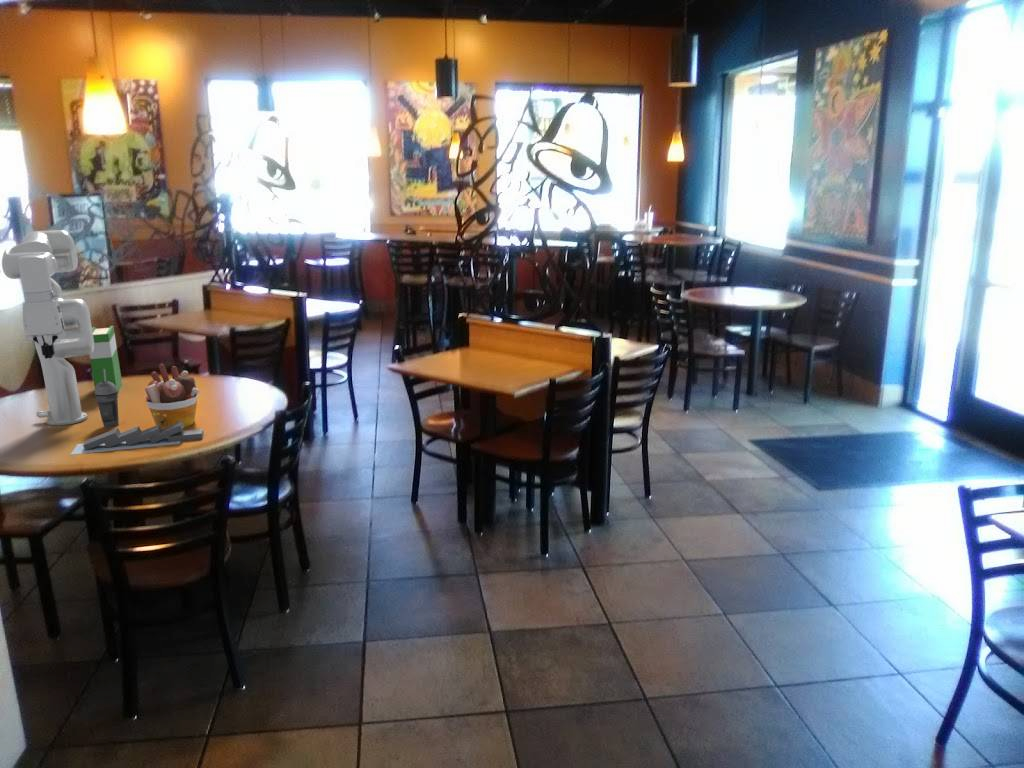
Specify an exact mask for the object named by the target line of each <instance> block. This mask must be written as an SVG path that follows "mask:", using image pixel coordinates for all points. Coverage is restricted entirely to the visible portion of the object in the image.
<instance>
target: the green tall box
mask: <svg viewBox="0 0 1024 768" xmlns="http://www.w3.org/2000/svg"><path fill="white" fill-rule="evenodd" d="M114 327H115V326H114V325H110V326H109V327H103V328H102V327H101V328H96V326H93V327H92V332H93V339H94V351H93V352H92V353H91V354H89V360H90V361H89V362H90V367H91V372H92V378H93V386H94V389H95V388H96V386H97V385H98V384H99V383H100V382H102V381H105V380H104V370H103V369H105V374H106V381H110V382H112V383H113V384H114V385H115V386H116V387H117V390H118V394H119V393H120V390H121V389H122V388H121V387H122V385H123V380H122V374H121V368H120V360H119V354H118V348H117V347H118V346H117V341H116V334H115V328H114Z"/></svg>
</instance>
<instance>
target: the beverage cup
mask: <svg viewBox="0 0 1024 768" xmlns="http://www.w3.org/2000/svg"><path fill="white" fill-rule="evenodd" d="M103 370H104V380H105V381H102V382H100V383H99V384H98V385H97V386H96V388H95V387H94V397H95V400H96V402H97V403H96V404H97V407H98V409H99V413H100V414H99V415H100V417H101V422H102V425H103V428H104V429H110V428H111V429H112V428H116V427H117V428H118V426H119V423H120V422H119V403H118V399H119V398H118V397H119V393H118V390H117V387H116V386H115V385H114V384H113V383H112V382H110V381H106V374H105V369H103Z"/></svg>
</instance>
